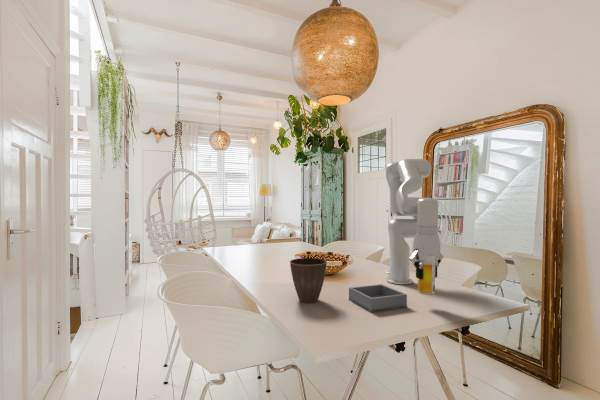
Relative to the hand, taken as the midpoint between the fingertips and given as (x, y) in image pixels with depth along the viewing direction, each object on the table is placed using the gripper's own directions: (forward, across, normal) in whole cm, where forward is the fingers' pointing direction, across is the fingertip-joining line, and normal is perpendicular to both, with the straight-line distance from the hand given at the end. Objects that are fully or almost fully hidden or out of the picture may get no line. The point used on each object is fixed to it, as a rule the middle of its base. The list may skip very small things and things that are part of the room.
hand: (426, 277), depth 122 cm
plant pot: (+12, +39, -23) cm, 47 cm away
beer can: (+6, 0, 0) cm, 6 cm away
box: (+12, +16, -10) cm, 22 cm away
